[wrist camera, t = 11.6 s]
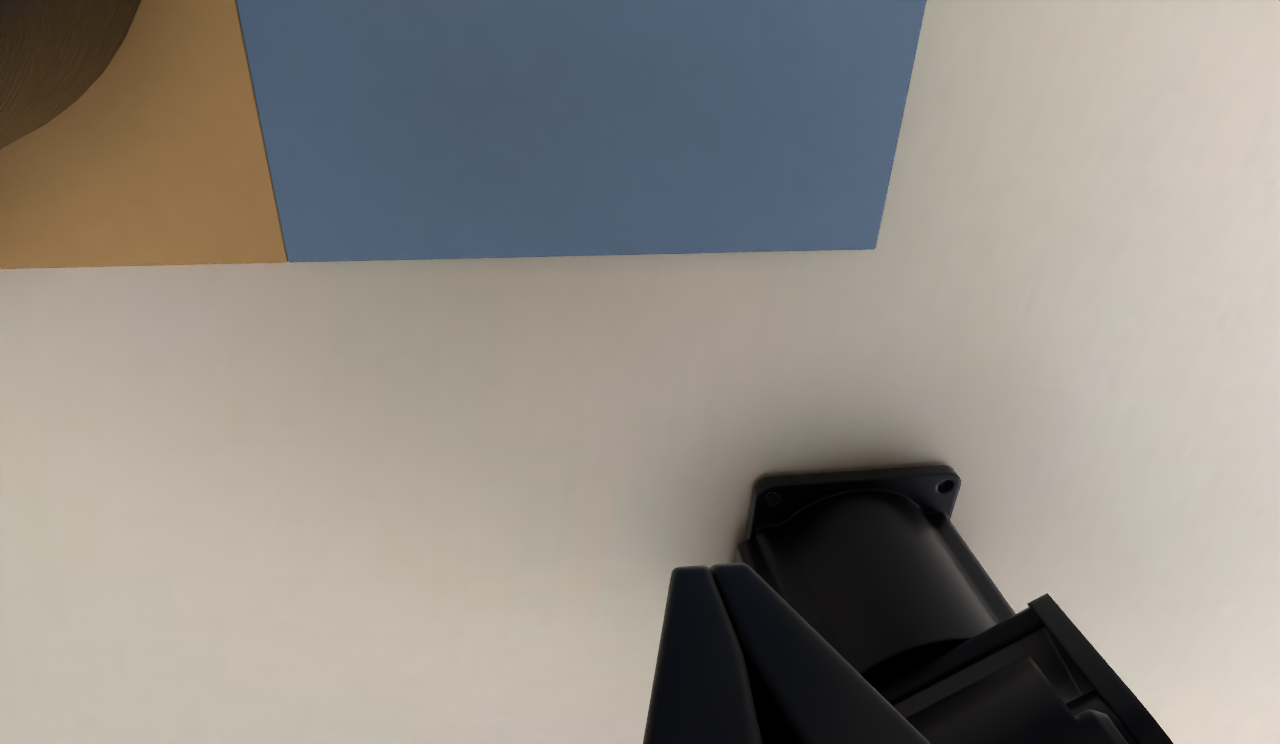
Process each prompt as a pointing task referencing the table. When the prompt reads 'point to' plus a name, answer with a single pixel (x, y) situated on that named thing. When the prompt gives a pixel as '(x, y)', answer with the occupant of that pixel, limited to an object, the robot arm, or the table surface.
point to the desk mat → (468, 132)
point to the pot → (54, 56)
